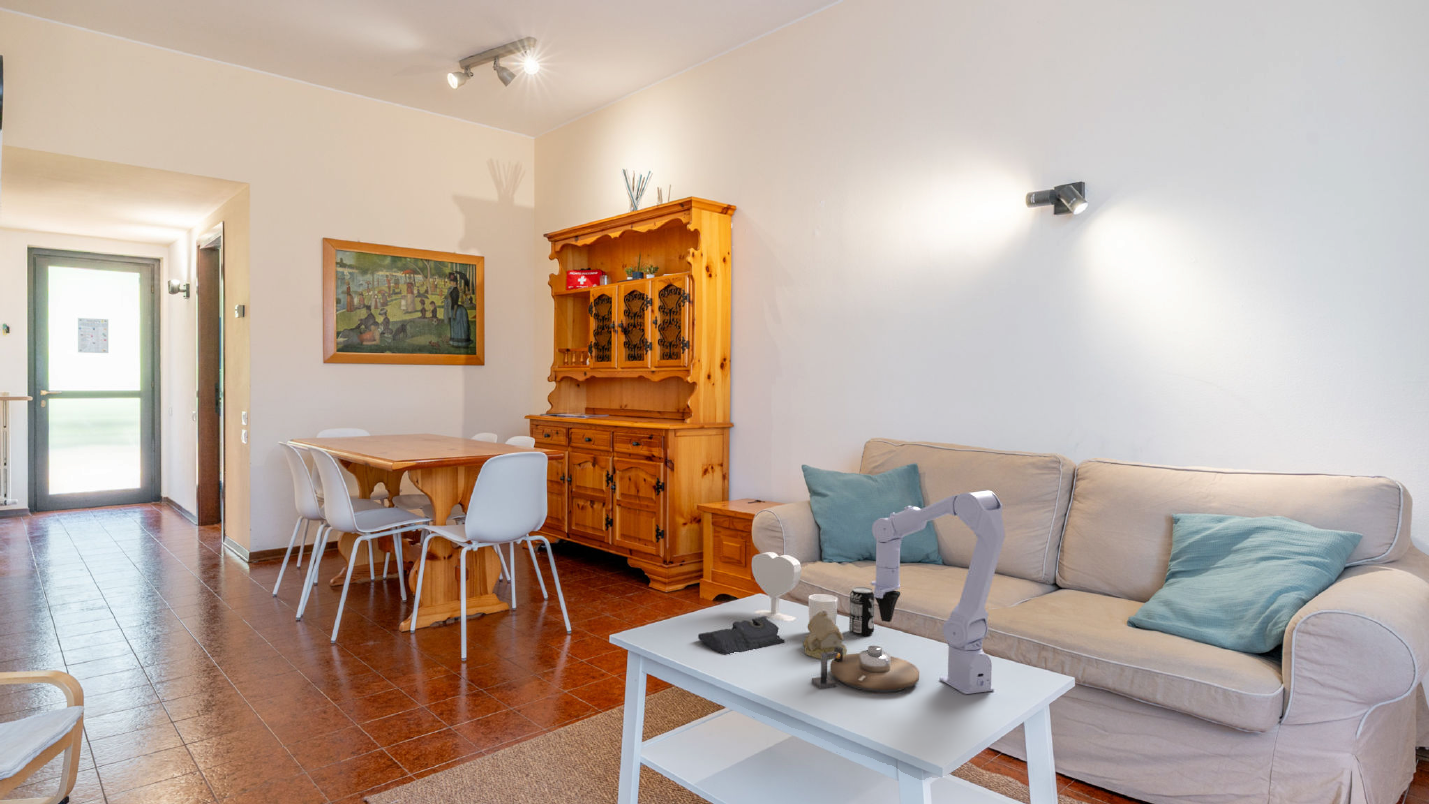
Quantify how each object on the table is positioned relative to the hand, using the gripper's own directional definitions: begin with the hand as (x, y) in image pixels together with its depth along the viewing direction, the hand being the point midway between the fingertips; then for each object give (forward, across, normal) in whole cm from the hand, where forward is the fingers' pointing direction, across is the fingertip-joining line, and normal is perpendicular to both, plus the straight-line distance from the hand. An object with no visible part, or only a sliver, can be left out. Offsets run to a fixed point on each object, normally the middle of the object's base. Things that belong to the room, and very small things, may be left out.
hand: (886, 620), depth 192 cm
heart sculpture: (+10, -19, -39) cm, 44 cm away
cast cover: (+7, +15, +2) cm, 16 cm away
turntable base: (+9, +15, +2) cm, 18 cm away
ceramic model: (+10, +2, -16) cm, 19 cm away
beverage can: (+10, -17, -12) cm, 23 cm away
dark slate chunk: (+10, +8, -37) cm, 39 cm away
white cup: (+10, -10, -21) cm, 25 cm away
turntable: (+8, +15, +2) cm, 17 cm away
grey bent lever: (+9, +25, -6) cm, 27 cm away
